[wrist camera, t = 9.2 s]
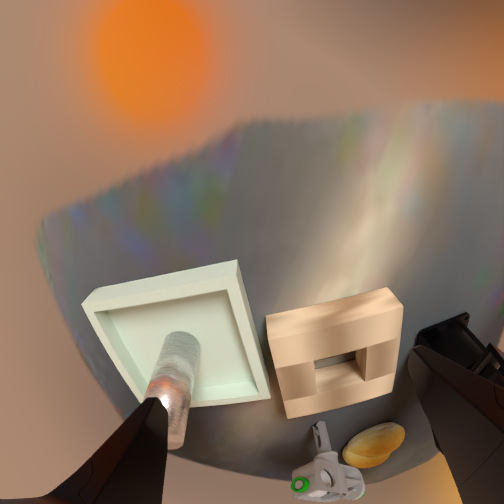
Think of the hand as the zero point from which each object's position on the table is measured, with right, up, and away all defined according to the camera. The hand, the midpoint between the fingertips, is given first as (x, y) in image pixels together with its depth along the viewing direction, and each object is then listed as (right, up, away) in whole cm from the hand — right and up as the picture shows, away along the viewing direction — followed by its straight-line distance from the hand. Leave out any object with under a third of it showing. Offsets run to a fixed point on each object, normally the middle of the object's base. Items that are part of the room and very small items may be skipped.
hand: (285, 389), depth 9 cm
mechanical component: (+6, -15, +19) cm, 25 cm away
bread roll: (+15, -21, +22) cm, 34 cm away
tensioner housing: (+6, -4, +15) cm, 16 cm away
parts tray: (-7, -3, +14) cm, 16 cm away
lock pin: (-7, -3, +13) cm, 15 cm away
